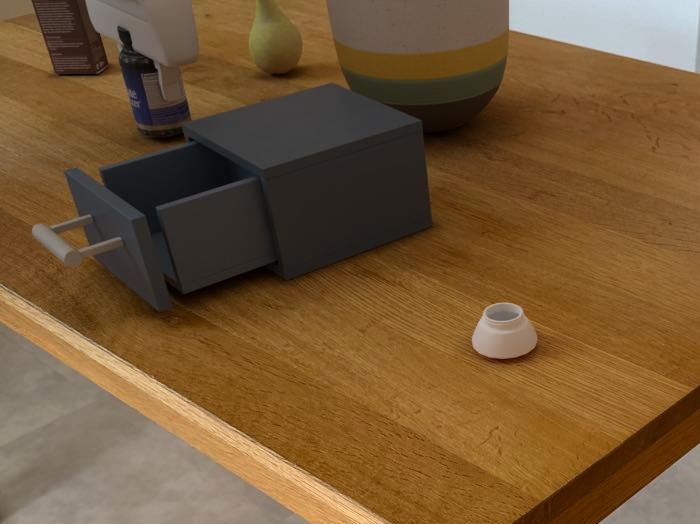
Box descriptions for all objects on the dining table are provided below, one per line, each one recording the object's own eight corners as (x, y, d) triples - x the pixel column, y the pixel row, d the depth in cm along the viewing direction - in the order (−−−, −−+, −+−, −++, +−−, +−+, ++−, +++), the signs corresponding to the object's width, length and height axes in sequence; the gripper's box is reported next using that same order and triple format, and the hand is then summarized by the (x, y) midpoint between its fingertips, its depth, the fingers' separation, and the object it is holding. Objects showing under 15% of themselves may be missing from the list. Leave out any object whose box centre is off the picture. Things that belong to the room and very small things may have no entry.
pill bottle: (133, 125, 116) (105, 21, 109) (186, 116, 118) (161, 14, 111) (144, 142, 112) (115, 35, 105) (199, 132, 114) (174, 27, 107)
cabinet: (286, 281, 88) (262, 169, 81) (207, 228, 96) (180, 123, 90) (432, 226, 95) (422, 120, 89) (347, 182, 104) (332, 82, 97)
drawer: (101, 333, 80) (67, 239, 74) (38, 276, 87) (4, 187, 82) (314, 256, 89) (297, 167, 84) (240, 210, 97) (220, 126, 91)
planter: (548, 113, 117) (543, -102, 103) (444, 169, 105) (423, -65, 91) (418, 86, 126) (398, -116, 112) (309, 135, 114) (271, -84, 100)
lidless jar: (541, 359, 77) (532, 327, 80) (540, 325, 75) (530, 293, 78) (476, 366, 76) (469, 333, 80) (473, 331, 74) (467, 299, 78)
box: (111, 65, 136) (81, -36, 128) (97, 75, 133) (66, -27, 125) (68, 65, 136) (36, -35, 129) (53, 75, 133) (19, -27, 125)
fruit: (310, 64, 134) (293, -38, 126) (300, 82, 128) (282, -23, 120) (260, 66, 134) (240, -36, 126) (248, 84, 128) (226, -21, 120)
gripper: (52, -60, 108) (92, 76, 117) (132, -28, 96) (170, 120, 105) (108, -69, 111) (143, 65, 120) (193, -39, 99) (225, 106, 108)
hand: (156, 91), depth 113 cm, fingers closed on pill bottle, 6 cm apart
